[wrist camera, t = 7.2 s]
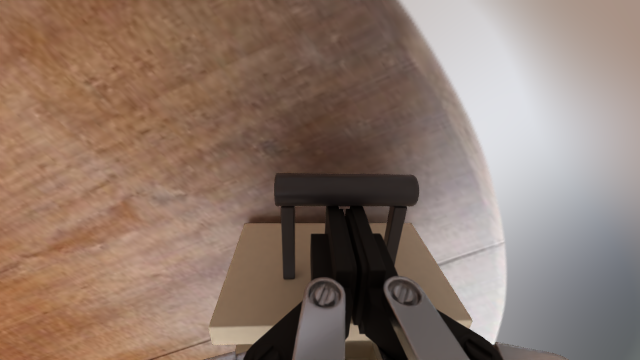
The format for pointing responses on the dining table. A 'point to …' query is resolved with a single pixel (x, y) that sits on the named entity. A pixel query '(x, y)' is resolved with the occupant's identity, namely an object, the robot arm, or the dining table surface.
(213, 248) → the dining table surface
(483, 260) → the dining table surface
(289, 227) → the drawer
